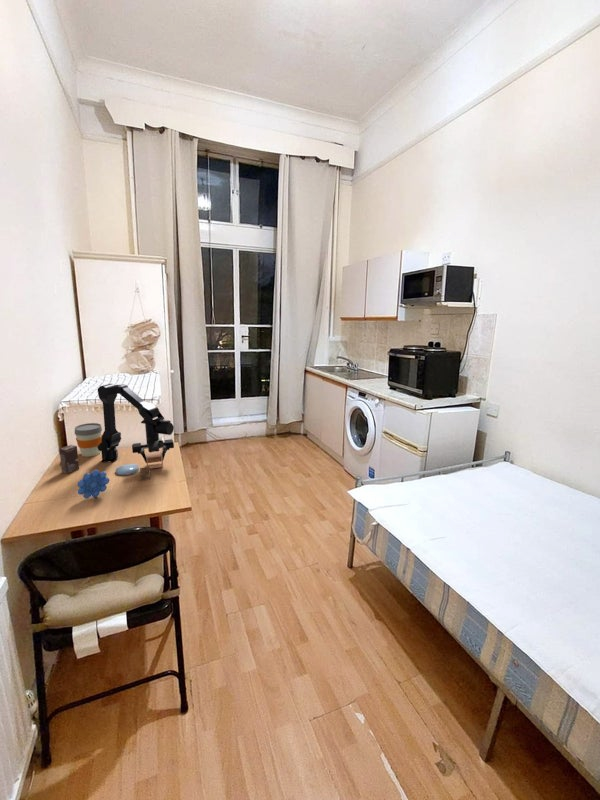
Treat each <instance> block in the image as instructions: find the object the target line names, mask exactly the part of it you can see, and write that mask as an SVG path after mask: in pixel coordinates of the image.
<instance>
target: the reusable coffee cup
mask: <svg viewBox="0 0 600 800" xmlns="http://www.w3.org/2000/svg"><path fill="white" fill-rule="evenodd" d="M102 431H103V428H102V424H101V423H97V422H90V423H89V422H87V423H83V424H79V425H77V426H75V427H74V435H75V437H76V438H75V440H76V443H77V448H79V451H80V454H81V456H82V457H93V456H97V454H98V455H99V453H100V454H102V453H101V451H99V450H98V448H97V446H98V445H99V444H100V443H101V440H102V435H103V433H102Z"/></svg>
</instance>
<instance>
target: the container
mask: <svg viewBox="0 0 600 800" xmlns="http://www.w3.org/2000/svg"><path fill="white" fill-rule="evenodd" d="M145 455H146V460H147V463H146V467H150V469H156V468H157V469H158V468H163V467H164V463H163V462H164V460H163V458H162V449H159V451H158V452H156V451H155V452H149V451H145ZM159 462H161V463H159ZM154 463H159V464H154ZM149 464H153V465H149Z"/></svg>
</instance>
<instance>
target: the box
mask: <svg viewBox="0 0 600 800" xmlns="http://www.w3.org/2000/svg"><path fill="white" fill-rule="evenodd" d="M58 450H59V456H60V465H61V472H62V473H63V474H64V473H65V474H70V473H72V472H73V473H74V471H77V470H79V469H80V464H79V463H80V462H79V454H78V445H74V444H69V445H66V446H62V447H60V448H59V449H58Z"/></svg>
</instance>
